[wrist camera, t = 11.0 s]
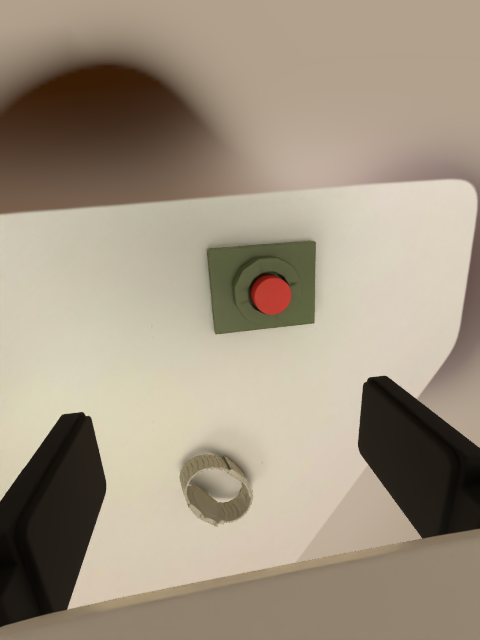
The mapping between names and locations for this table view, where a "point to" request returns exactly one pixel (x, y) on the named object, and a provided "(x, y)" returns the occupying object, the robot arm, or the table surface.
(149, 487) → the table surface
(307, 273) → the button box
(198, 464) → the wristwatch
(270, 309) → the button
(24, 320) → the table surface
